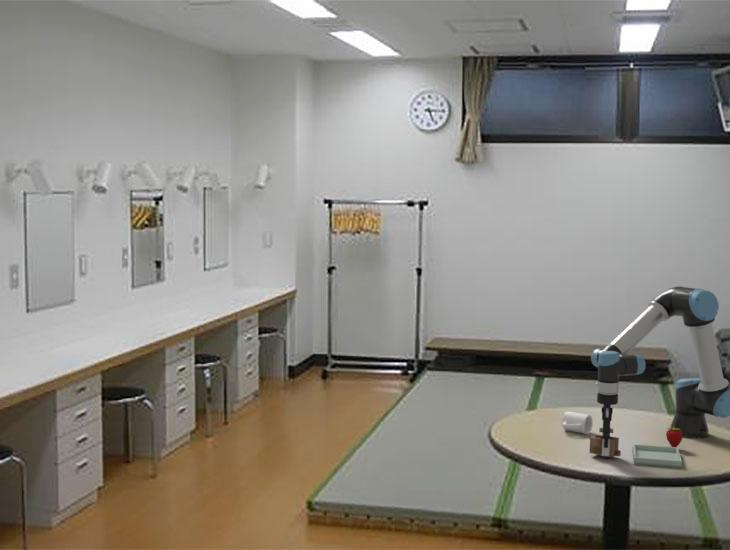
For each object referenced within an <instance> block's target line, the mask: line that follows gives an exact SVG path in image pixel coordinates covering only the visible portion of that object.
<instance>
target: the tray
mask: <svg viewBox="0 0 730 550" xmlns="http://www.w3.org/2000/svg"><path fill="white" fill-rule="evenodd" d="M631 447H632V449H631V450H632V451H631V452H632V458H633V459H632V460H633V465H637V466H647V467H649V466H650V467H661V468H663V467H664V468H675V469H676V468H677V469H682V468H683V467H682V466H683V460H682V457H681V454H680V450H679V448H678V446H677V447H672V446H664V445H662V446H661V445H652V444H651V445H650V444H649V445H648V444H638V443H637V444H636V443H632V445H631Z"/></svg>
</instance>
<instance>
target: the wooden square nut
mask: <svg viewBox="0 0 730 550" xmlns="http://www.w3.org/2000/svg"><path fill="white" fill-rule="evenodd" d="M601 437H603V435H602V434H597V433H595V434H593V435H591V436H590V438H589V454H593V455H600V456H602V439H601ZM619 441H620V438H619V437H616V436H611V435H610V451H609V457H610V458H614V457H620V456H621V455H622V454H621V453H622V451H621V450H619V443H620V442H619Z"/></svg>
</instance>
